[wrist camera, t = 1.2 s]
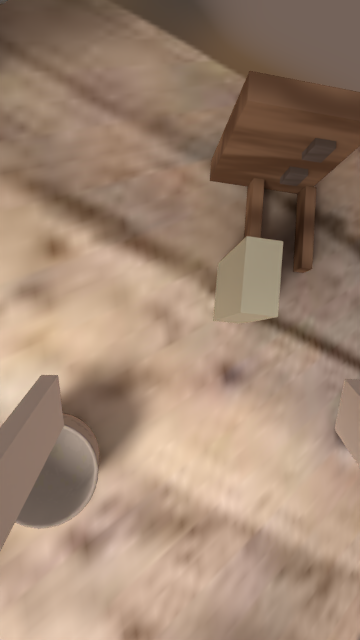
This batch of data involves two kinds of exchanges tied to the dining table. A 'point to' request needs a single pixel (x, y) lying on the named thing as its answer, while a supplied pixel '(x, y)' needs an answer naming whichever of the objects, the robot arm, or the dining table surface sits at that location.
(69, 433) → the teacup
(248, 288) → the block
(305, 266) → the wooden stand
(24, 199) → the dining table surface
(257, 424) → the dining table surface
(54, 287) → the dining table surface
